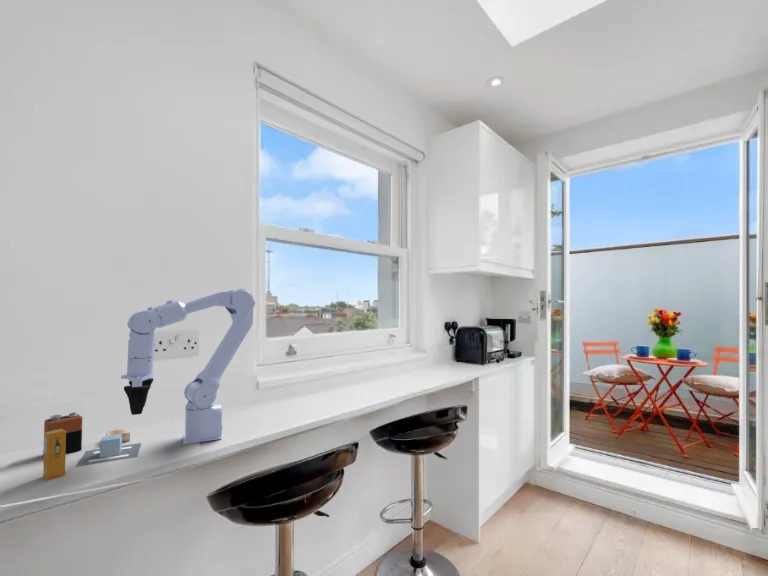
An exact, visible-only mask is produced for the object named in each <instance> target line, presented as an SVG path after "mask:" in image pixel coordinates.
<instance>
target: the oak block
mask: <svg viewBox="0 0 768 576" xmlns="http://www.w3.org/2000/svg"><path fill="white" fill-rule="evenodd" d="M117 434H122V444H123V443H128V442H131V431H130V429H129V428H128V427H127V428H120V429H115V430H110V431H106V433H105V436H110V435H117Z"/></svg>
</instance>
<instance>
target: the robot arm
mask: <svg viewBox="0 0 768 576" xmlns="http://www.w3.org/2000/svg"><path fill="white" fill-rule="evenodd" d="M255 305H256V302H255V298H254V297H253V294H252V292H251V291H249V290H248V289H246V288H238V289H230V290H226V291H225V290H224V291H220V292H219V291H218V292H213V293H211V294H208V295H205V296H201V297H198V298H196V299H194V300H190V301H188V302H184V303H183V302H180V300H175V301H173V299H170V300H167V301H166V303H165V304H160V305H157V306H155V307H152V306H147V307H146V310H142V311H137V312H134V313H132V315H130V317H129V319H128V321H127V327H128V328H129V336H128V337H129V339H128V346H127V367H126V374H122V375H121V376H120V379H121V380H124V379H125V380H128V384H129V385H125V386H124V387H123V391H124V393H125V395H126V396H127V398H128V403H129V409H130V413H131V415H132V416H133V415H135V416H137V415H142V413H143V411H144V407H145V405H146V403H147V399H148V394H149V392H150V391H149V390H150V389H151V387H152V384H153V382H154V362H155V361H154V360H155V359H154V357H155V355H154V354H155V330H156V329H157V328H158V329H161V328H164V327H167V326H170V325H173V324H176V323H178V322H182V321H185V320H186V318H187V316H188V315H189V314H191V313H195V312H200V311H202V310H205V309H209V308H212V307H215V306H216V307H222V308H223V307H224V308H225V309H226V311H227V312H229V314H230V318H231V321H232V324H231V326H230V327H229V329H228V330H227V331H226V334H225V335H224V337H223V339H222V340H221V341H220V343H219V345H218V346H217V348H216V349H215V351H214V353H213V354H212V356H211V357H210V359H209V361H208V362H207V364H206V365H205V366H204V368H203V370H202V371H200V372H199V373H198V374H197V375H196V376H195V378H194V379H193V380H192V381H191V382H189V383H188V384H187V385H186V386H185V388H184V393H183V394H184V397H185V399H186V400H187V403H186V405H185V423H184V424H185V426H184V434H183V437H182V438H183V439H182V440H183V445H186V444H192V443H203V442H210V441H216V440H221V439H222V432H223V431H222V430H223V423H222V421H223V420H222V419H223V415H222V414H223V413H222V411H223V409H222V404H219V403H218V404H215V401H216V398H217V393H218V390H219V388H220V386H221V377H222V376H223V374H224V372H225V371H226V369H227V368H228V366H229V364H230V363H231V361H232V359H233V357H234V356H235V354H236V353H237V351H238V349H239V348H240V346H241V344H242V343H243V341H244V339H246V336H247V334H248V333H249V331H250V330H251V328H252V326H253V324H254V321H253V320H254V307H255Z"/></svg>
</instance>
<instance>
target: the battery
mask: <svg viewBox="0 0 768 576" xmlns="http://www.w3.org/2000/svg"><path fill="white" fill-rule="evenodd" d="M43 427H44V428H43V434H44V433H45V432H49V431H54V430H58V429H63V430H65V431H66V455H69V454H73V453H77V452H81V451H82V447H83V446H82V445H83V444H82V443H83V416H81V414H78V413H77V412H69V413H68V414H67V415H63V416H62V415H61V414H54V415H50V417H49V418H47V419H45V420H44V426H43ZM42 453H43V456H44V449H43V452H42Z"/></svg>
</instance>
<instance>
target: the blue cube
mask: <svg viewBox="0 0 768 576" xmlns="http://www.w3.org/2000/svg"><path fill="white" fill-rule="evenodd" d="M122 444H123V443H122V434H117V435H110V436H106V435H104V436H102V437H101V439H100V441H99V449H100V458H104V457H110V456H116V455H120V452H121V449H122V446H123V445H122Z"/></svg>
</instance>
